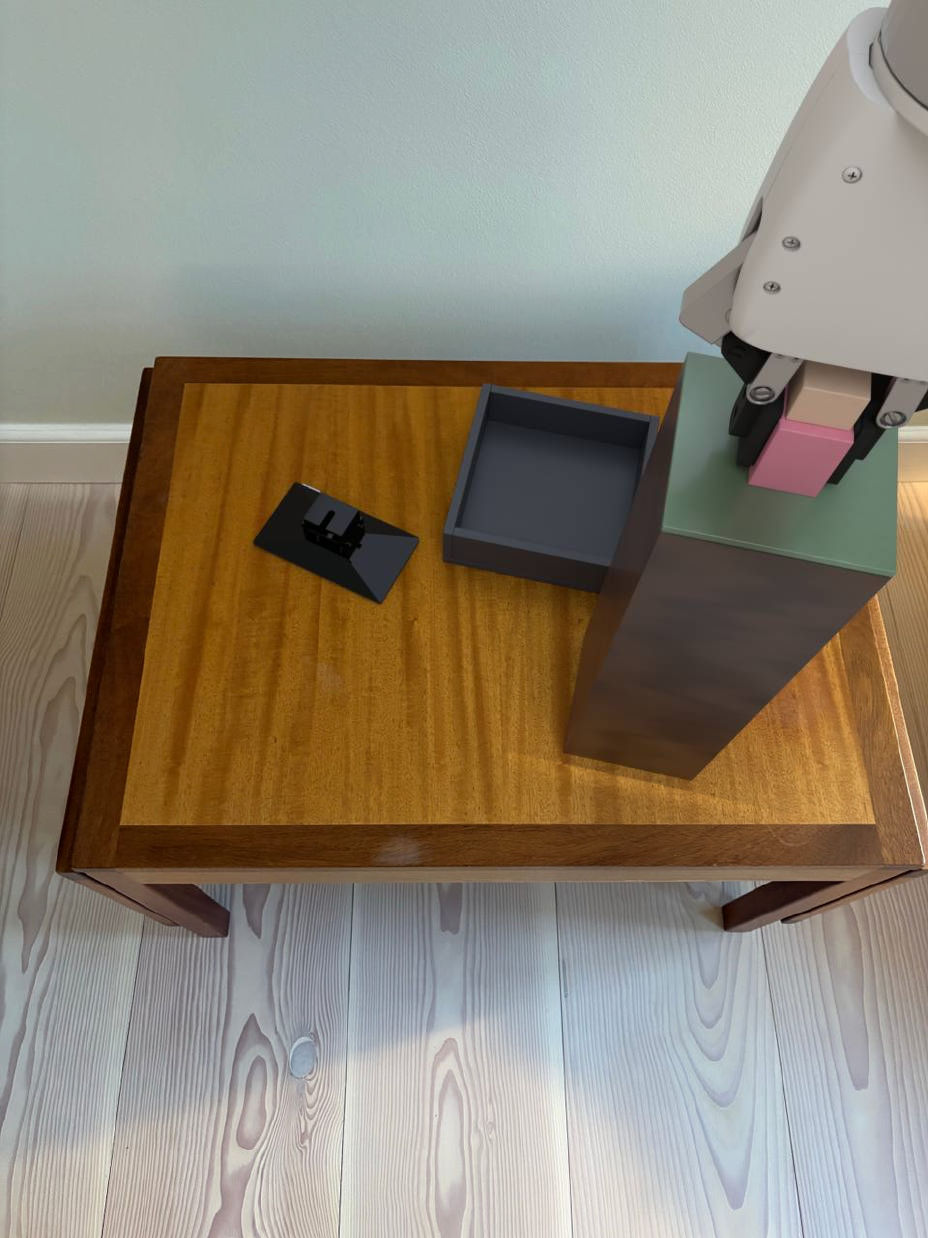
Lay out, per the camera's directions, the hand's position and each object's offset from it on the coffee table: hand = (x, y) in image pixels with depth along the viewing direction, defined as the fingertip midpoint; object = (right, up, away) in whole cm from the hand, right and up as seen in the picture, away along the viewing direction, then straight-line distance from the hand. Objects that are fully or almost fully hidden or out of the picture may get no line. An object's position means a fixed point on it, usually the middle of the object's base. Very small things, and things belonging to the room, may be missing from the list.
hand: (789, 446), depth 40 cm
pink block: (0, 0, +1) cm, 1 cm away
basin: (-7, +2, +39) cm, 39 cm away
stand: (-1, -15, +31) cm, 34 cm away
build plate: (-25, -1, +37) cm, 45 cm away
